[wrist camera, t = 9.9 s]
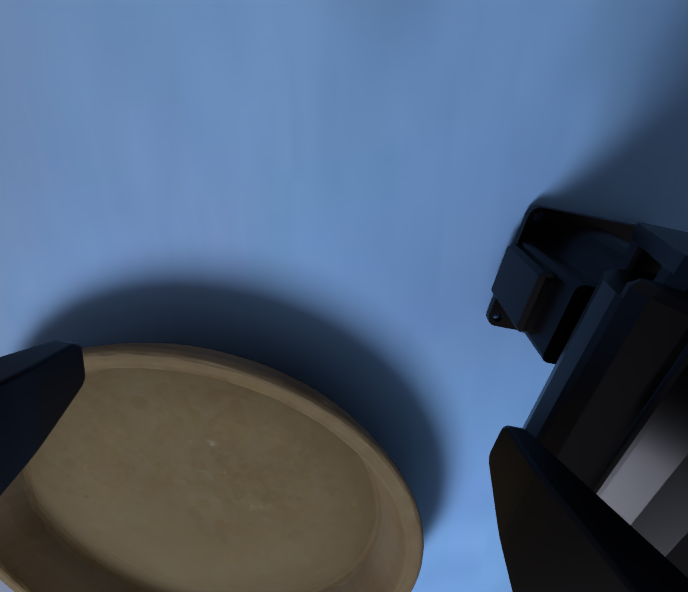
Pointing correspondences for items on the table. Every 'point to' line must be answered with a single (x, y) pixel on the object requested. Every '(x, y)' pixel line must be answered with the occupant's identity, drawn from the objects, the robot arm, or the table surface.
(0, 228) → the table surface
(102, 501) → the plant saucer
